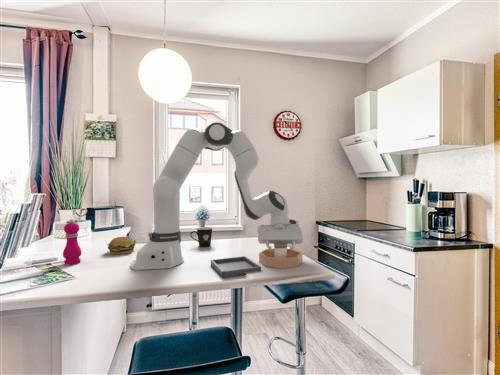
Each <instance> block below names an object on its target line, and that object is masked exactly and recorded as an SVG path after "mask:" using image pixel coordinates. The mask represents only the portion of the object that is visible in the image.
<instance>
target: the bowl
mask: <svg viewBox="0 0 500 375" xmlns="http://www.w3.org/2000/svg"><path fill="white" fill-rule="evenodd" d="M258 262H259V264H261V265H263V266H265V267H268V268H275V269H289V268H296V267H299V266H300V265H301V264H302V263H303V252H301V251H299V250H296V249H294V248H293V252H290V248H287V258H276V257H274V248H272V252H271V251H270V252H269V251H268V248H267V249H266V248H265V249H264V250H262V251H260V252H259V253H258Z"/></svg>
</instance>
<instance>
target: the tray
mask: <svg viewBox="0 0 500 375" xmlns="http://www.w3.org/2000/svg"><path fill="white" fill-rule="evenodd" d="M210 266H211V267H212V269H213V270H214V271H215V273H217V274H218V275H219V276H220V277H221V279H227V278H235V277H242V276H247V274H248V273H255V272H261V271H262V266H260V265H259V264H257V263H256V262H255V261H253V260H251V259H250V258H248V257H247V256H245V255H244V256H234V257H224V258H217V259H210Z"/></svg>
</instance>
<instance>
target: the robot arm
mask: <svg viewBox="0 0 500 375" xmlns="http://www.w3.org/2000/svg"><path fill="white" fill-rule="evenodd" d="M224 148H225V149H227V151H229V153H230V155H231V156H232V159H233V161H234V163H235V170H234V177H235V182H236V185H237V188H238V191H239V194H240V197H241V200H242V204H243V209H244V212H245V215H246V216H247V217H248V218H249V219H250V220H254V221H257V220H259V219H262V218H263V217H264V216H267V215H269V214H270V220H269V221H270V223H269V224H266V225H265V224H261V225H259V226H258V227H257V233H258V234H257V235H258V236H257V241H258V243H259V244H261V245H263V244H265V246H266V247H267V249H268V251H269V252H270V251H271V252H272V249H273V248H272V244H273V245H274V243H287V245H291V246H289V249H290V252H293V249H294V248H295V246H296V245H301V244H302V243H303V241H304V236H303V231H302V228H301V227H300V226H299V225H300V223H299V221H298V220H295V219H291V218H289V207H288V202H287V199H286V198H285V197H284V195H281V194H280V193H279V192H277V191H275V190H268V191H267V192H264V193H262V194H260V195H258V196H256V197H253V195H252V192H251V189H250V186H249V182H248V180H249V177H250V176H251V174H252V173H253V172H254V170H255V169H256V168H257V165H258V163H259V155H258V152H257V151H256V150H257V149H255V147H254V144H253V143H252V141H251V140H250V138H249V137H248V135H247V134H246V133H245V132H244V131H243V130H235V131H233V130H232V129H231V128H229V127H228V126H226V125H225V124H224V123H222V122H219V121H214V122H211V123H209V124H208V125H207V126H206V128H205V130H199V129H198V128H188V129H187V130H186V131H185V133H183V135H182V136H181V137H180V139H179V141H178V142H177V143H176V145H175V147H174V149H173V150H172V153H171V155H170V156H169V158H168V160H167V161H166V163H165V165H164V167H163V169H162V171H161V172H160V174H159V176H158V177H157V179H156V180H155V182H154V184H153V187H152V192H153V193H152V194H153V195H152V197H153V200H152V202H153V220H154V221H153V232H152V231H150V232H148V233H147V236H148V237H149V238H148V239H149V241H148V242H146V243H145V244H144V245H143V246H142V247H140V248H138V249H139V250H138V251H137V253H136V255H135V256H136V257H135V260H133V261H131V263H130V268H131V269H132V270H134V271H144V270H161V269H172V268H174V267H176V266H178V265H181V264H183V263H184V257H183V254H182V248H181V243H182V242H181V241H182V233H181V230H180V229H181V228H180V226H181V225H180V224H181V223H180V197H181V196H180V194H181V192H180V191H181V187H182V186H183V184H184V182H185V181H186V179H187V178H188V177H189V174H190V173H191V171H192V169H193V167H194V166H195V164H196V162H197V160H198V158H199V156H200V154H201V153H202V151H203V150H204V149H205V150H210V151H213V152H214V151H220V150H222V149H224ZM270 244H271V245H270Z"/></svg>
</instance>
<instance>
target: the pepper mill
mask: <svg viewBox="0 0 500 375" xmlns="http://www.w3.org/2000/svg"><path fill="white" fill-rule="evenodd" d="M63 231H64V232H65V238H66V242H65V247H64V249H63V251H62V257H63V258H64V261H63V263H64V265H65V266H74V265H78V264H81V258H80V257H81V255H82V248H81V247H80V245H79V243H78V237H79V233H78V232H79V231H80V225H79V224H78V223H76V222H75V220H74V219H73V218H71V219H69V221H68V223H67V224H65V225H64V227H63Z"/></svg>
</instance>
